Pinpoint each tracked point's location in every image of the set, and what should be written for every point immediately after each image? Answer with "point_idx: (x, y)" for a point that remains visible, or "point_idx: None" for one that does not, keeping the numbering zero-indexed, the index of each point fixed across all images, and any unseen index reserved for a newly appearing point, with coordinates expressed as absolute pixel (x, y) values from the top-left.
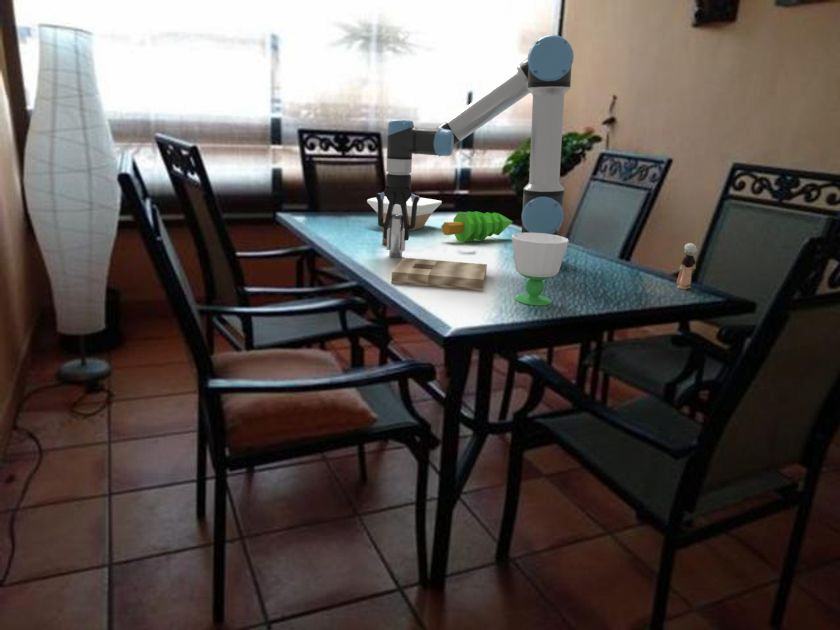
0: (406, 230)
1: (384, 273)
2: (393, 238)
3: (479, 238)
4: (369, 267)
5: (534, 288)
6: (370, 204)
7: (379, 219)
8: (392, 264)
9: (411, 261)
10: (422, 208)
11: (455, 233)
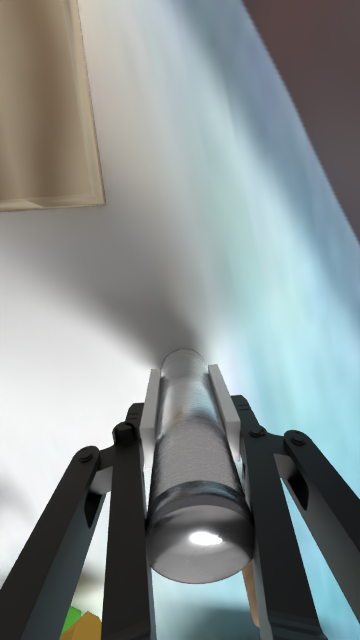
0: (123, 422)
1: (145, 56)
2: (194, 386)
3: None
4: (231, 150)
5: None
6: None
7: (321, 467)
8: (161, 245)
9: (26, 114)
10: None
11: (65, 631)
